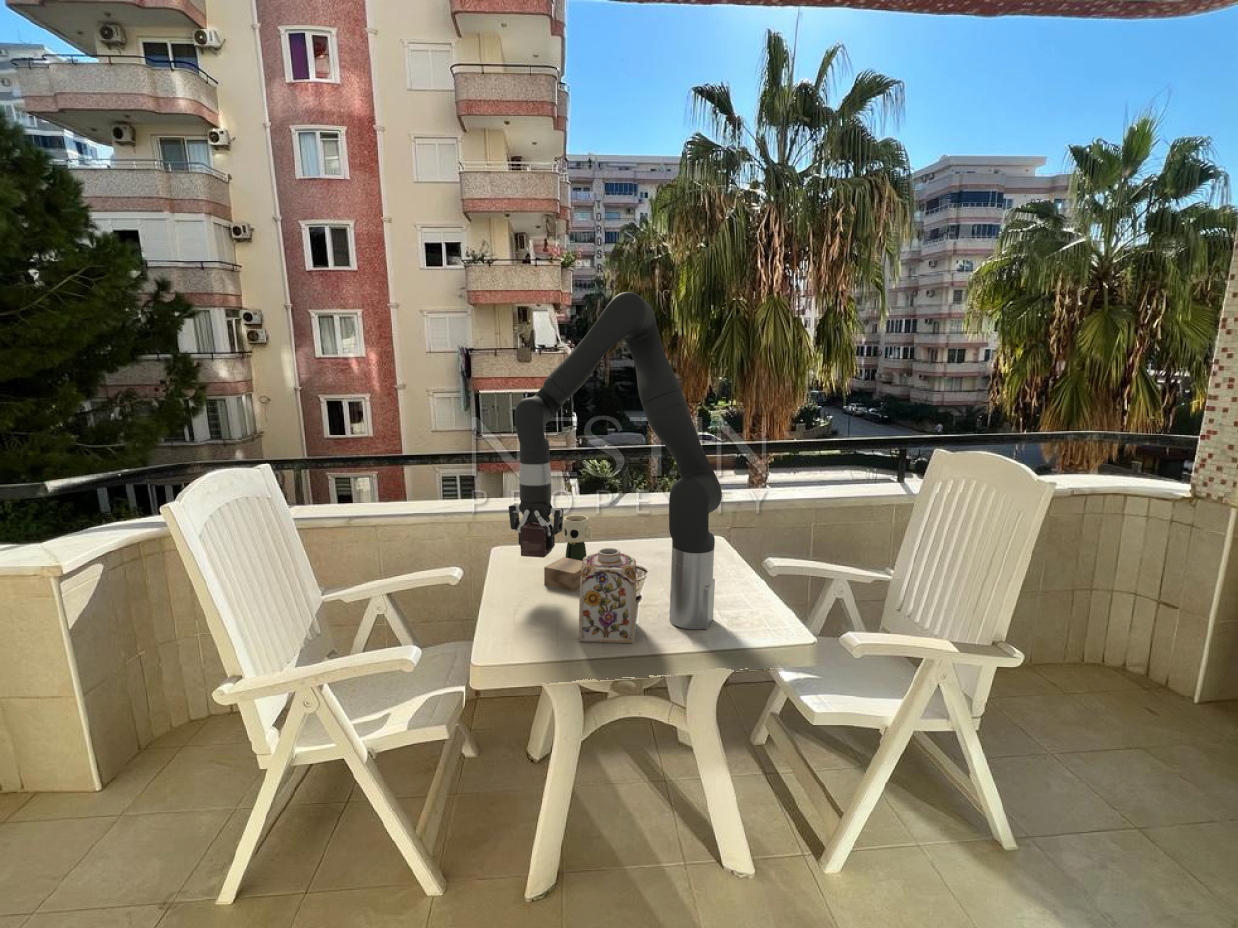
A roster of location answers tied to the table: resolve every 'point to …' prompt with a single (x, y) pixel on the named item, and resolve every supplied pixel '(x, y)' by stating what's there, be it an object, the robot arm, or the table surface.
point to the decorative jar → (607, 597)
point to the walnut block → (563, 574)
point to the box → (533, 540)
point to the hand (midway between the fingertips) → (536, 548)
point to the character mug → (576, 535)
